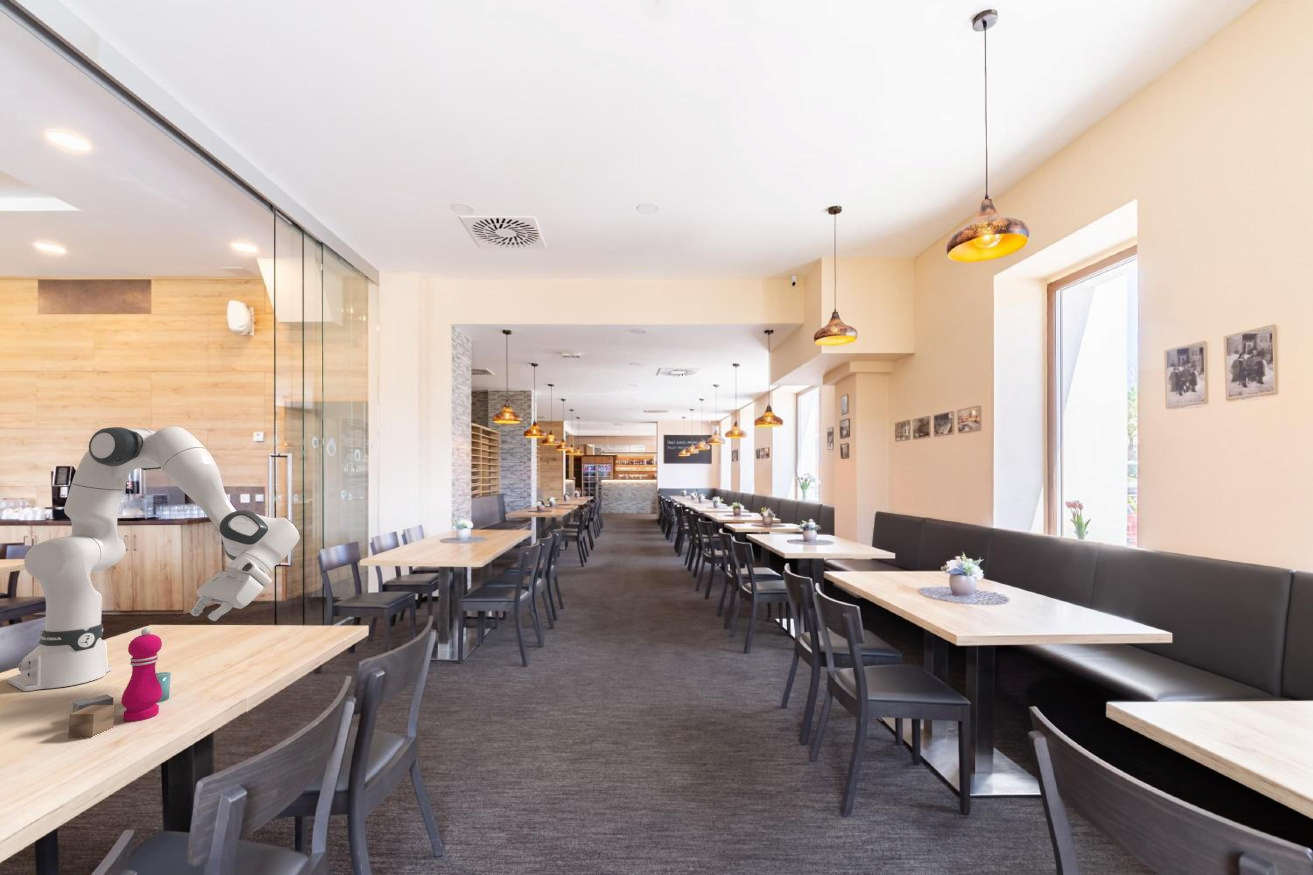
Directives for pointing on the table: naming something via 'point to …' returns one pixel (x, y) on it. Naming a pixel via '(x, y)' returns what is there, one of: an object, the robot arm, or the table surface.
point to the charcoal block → (92, 702)
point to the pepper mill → (142, 678)
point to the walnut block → (91, 721)
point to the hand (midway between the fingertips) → (201, 616)
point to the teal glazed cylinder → (164, 685)
